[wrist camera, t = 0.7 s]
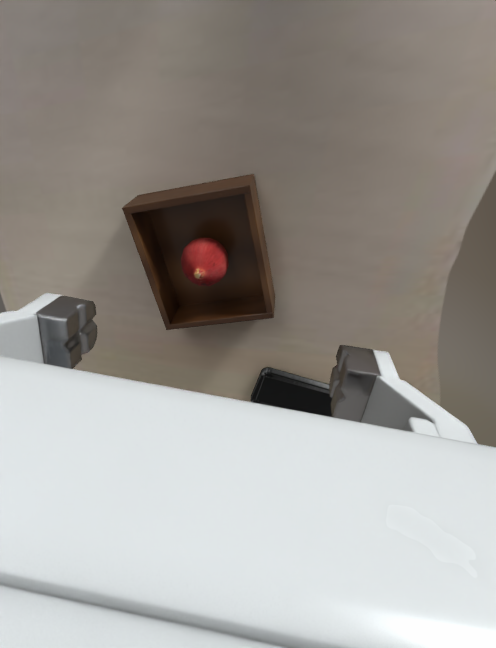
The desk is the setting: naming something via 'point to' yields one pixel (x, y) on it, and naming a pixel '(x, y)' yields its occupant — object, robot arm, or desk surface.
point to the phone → (292, 392)
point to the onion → (204, 261)
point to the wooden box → (204, 222)
